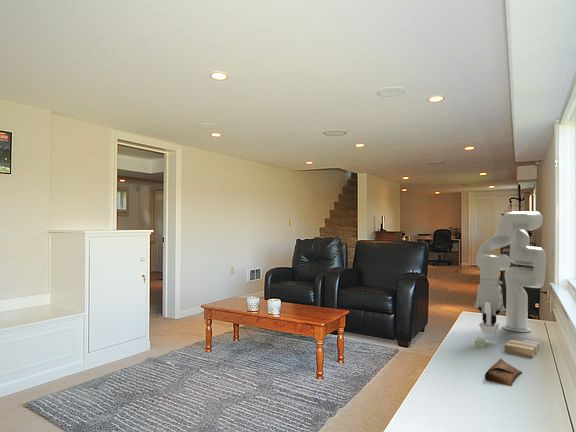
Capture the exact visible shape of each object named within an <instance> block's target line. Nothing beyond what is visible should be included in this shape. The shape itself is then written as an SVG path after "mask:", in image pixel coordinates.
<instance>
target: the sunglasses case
mask: <svg viewBox="0 0 576 432" xmlns="http://www.w3.org/2000/svg"><path fill="white" fill-rule="evenodd" d="M522 373H523V372H522V371H521V370H519V369H518V368H516V367H514V366H512V365H511V364H509V363H507V362H506V361H505V360H504V359H502V358H500V359H498V361H496V362H495V363H494V364H493V365H492V366H490V367H489V369H488V370H487V371H486V372H485V374H484V379H485V380H486V381H487V382H491V383H493V384H500V385H504V386H508V387H513V384H514V381H516V379H517V378H518V377H519V376H520V375H522Z"/></svg>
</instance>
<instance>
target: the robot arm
mask: <svg viewBox="0 0 576 432" xmlns="http://www.w3.org/2000/svg"><path fill="white" fill-rule="evenodd" d="M543 220H544V217H543V215H542V213H541V212H539V211H510V212H509V211H508V212H506V213H503V215H501V218H500V221H499V223H498V226H497V228H496V231H495V233H494V235H493V236H491V237H489V238H488V239H486V240H485V241H484V242H482V244H481V245H480V246H479V248H478V251H477V254H476V258H475V264H476V266H477V267H478V268H480V269H479V271H480V272H479V273H480V274H479V276H480V277H479V278H480V279H479V283H480V284H479V283H478V288H477V290H476V291H477V292H476V293H477V294H476V301H475V303H474V305H473V307H474V308H476V309H477V310H478V311H479V312H481V314H482V321H484V323H486V313H485V302H490V308H492V310H493V314H492V323H491V324H492V325H494V324H495V323H497V315H499V314H500V313H502V312H506V313H505V323H504V324H502V329H504V330H507V331H511V332H517V333H528V332H531V331H532V328H531V327H529V326H528V317H529V316H528V312H529V311H528V308H529V307H528V306H529V303H528V302H529V300H528V298H529V297H528V293H527V291H526V290H525V288H532V289H533V288H534V289H541V288H542V287H544V284H545V280H546V266H547V265H546V264H547V263H546V262H547V255H546V252H545V250H544V248H542V247H538V246H530V241H531V239H530V235H529V233H528V232H527V231H534V230H537V229H539V228H541V226H542V225H543V222H544V221H543ZM507 246H509V255H507V254H503V253H493V252H492V251H495V250H498V249H501V248H504V247H507ZM491 252H492V253H491ZM511 263H512V264H514V265H519V266H520V265H521V266H532V267H533V268H530V267H519V266H511V265H512V264H511ZM500 271H504V281H505V288H506V297H505V298H506V299H505V301H506V302H505V303H506V304H505V305H506V306H504V298H503V289H502V286H501V285H503V280H500ZM524 287H525V288H524ZM505 307H506V308H505Z"/></svg>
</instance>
